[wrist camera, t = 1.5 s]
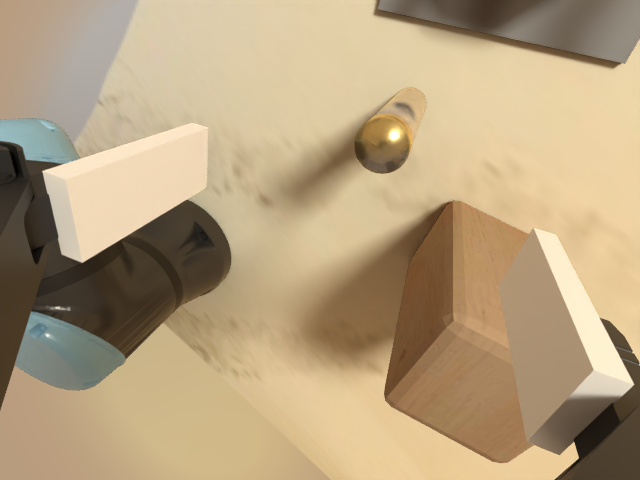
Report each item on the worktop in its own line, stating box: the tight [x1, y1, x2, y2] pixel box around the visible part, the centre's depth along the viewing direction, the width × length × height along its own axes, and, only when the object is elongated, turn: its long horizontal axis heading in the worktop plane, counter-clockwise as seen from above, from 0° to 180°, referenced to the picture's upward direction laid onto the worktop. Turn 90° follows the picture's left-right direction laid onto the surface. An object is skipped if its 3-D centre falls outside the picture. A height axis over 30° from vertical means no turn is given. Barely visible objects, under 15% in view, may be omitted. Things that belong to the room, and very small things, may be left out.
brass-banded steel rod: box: [355, 87, 426, 174], centre depth 28 cm, size 3×3×16 cm
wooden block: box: [384, 200, 533, 463], centre depth 32 cm, size 10×10×20 cm
